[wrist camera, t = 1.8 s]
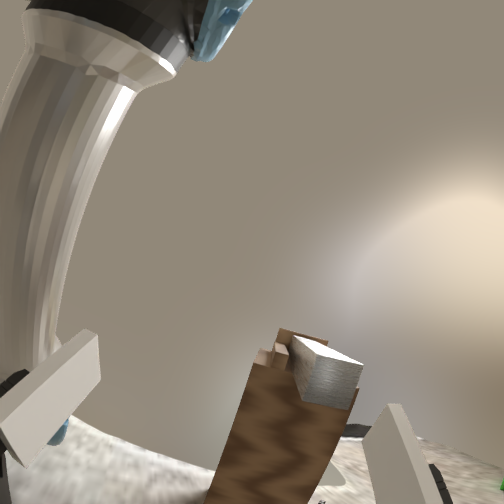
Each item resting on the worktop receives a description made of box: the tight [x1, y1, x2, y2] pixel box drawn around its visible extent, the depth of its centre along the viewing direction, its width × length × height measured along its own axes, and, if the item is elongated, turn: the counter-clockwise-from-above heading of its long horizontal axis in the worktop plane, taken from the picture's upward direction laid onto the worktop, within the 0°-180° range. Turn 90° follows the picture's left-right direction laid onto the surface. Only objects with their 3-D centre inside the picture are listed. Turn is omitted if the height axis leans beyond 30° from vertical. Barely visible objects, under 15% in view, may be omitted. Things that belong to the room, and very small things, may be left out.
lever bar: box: [288, 335, 364, 410], centre depth 29 cm, size 4×25×4 cm, turn 175°
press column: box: [204, 328, 359, 504], centre depth 32 cm, size 12×16×34 cm
